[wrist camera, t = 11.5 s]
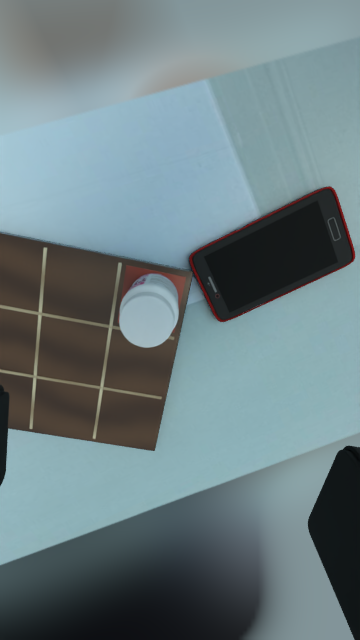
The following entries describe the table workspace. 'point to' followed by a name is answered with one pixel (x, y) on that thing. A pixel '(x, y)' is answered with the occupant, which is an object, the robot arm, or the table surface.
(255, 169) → the table surface
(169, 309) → the pill bottle
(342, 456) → the robot arm
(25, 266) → the grid board
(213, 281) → the cell phone
